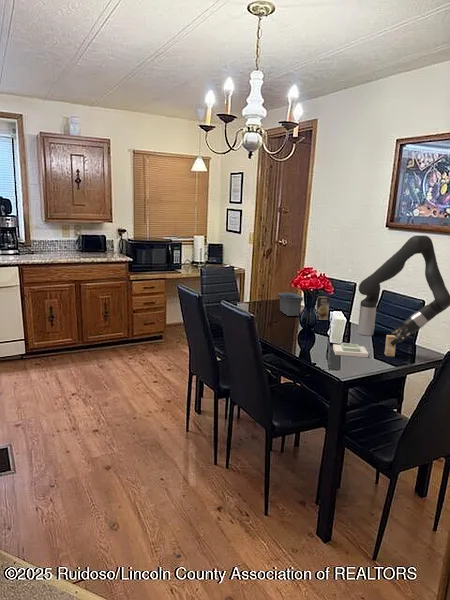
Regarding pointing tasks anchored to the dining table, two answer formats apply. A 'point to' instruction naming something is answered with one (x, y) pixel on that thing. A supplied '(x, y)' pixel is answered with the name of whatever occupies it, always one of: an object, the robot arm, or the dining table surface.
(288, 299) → the storage bin
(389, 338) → the birch pillar block
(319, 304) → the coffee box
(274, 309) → the dining table surface
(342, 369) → the dining table surface
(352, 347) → the socket base
